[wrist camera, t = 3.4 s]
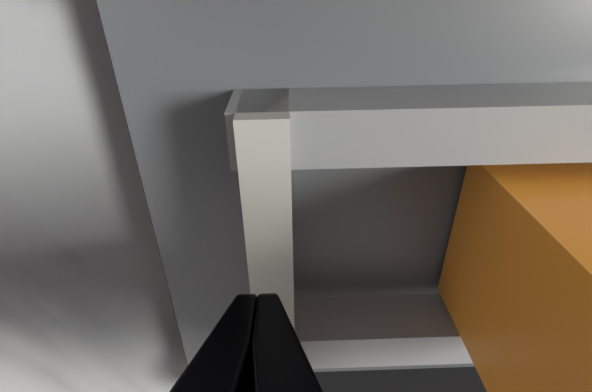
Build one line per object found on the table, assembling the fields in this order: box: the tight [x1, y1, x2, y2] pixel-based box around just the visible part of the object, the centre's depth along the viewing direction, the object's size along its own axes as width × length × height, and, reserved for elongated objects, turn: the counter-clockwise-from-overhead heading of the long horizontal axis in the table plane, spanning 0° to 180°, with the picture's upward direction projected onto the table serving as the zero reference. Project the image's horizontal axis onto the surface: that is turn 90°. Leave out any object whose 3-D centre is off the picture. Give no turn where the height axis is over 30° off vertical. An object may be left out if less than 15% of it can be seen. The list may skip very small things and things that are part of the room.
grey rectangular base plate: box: [314, 367, 487, 392], centre depth 10 cm, size 17×15×1 cm
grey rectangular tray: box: [96, 0, 592, 372], centre depth 10 cm, size 19×15×3 cm
